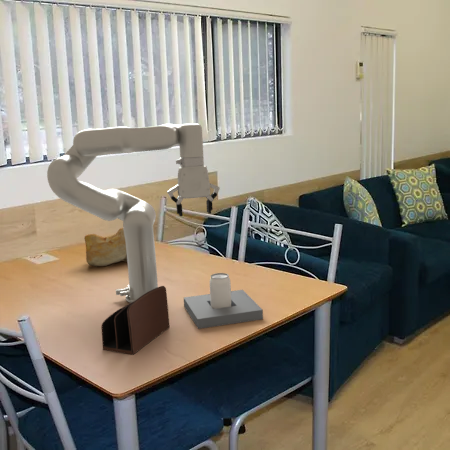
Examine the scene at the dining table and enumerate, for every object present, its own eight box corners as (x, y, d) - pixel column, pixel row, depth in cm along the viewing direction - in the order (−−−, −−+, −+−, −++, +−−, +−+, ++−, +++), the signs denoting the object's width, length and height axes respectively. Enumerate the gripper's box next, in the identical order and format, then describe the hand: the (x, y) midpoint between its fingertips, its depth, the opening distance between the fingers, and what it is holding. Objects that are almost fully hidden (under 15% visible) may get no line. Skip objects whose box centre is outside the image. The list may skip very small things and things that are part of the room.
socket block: (198, 328, 169) (197, 319, 169) (184, 306, 188) (183, 297, 188) (262, 319, 175) (262, 309, 174) (242, 298, 193) (242, 289, 193)
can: (229, 316, 178) (227, 279, 175) (208, 315, 179) (207, 278, 176) (233, 309, 184) (232, 272, 181) (213, 308, 185) (211, 272, 183)
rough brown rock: (136, 254, 257) (131, 221, 254) (145, 260, 241) (140, 225, 239) (83, 264, 249) (78, 229, 246) (88, 270, 233) (83, 234, 231)
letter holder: (170, 327, 171) (167, 282, 168) (133, 355, 154) (129, 305, 151) (141, 323, 176) (137, 279, 172) (102, 350, 158) (97, 301, 155)
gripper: (167, 165, 182) (171, 218, 186) (220, 161, 186) (223, 213, 190) (163, 163, 189) (167, 214, 193) (214, 159, 193) (217, 209, 197)
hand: (194, 214), depth 191 cm, fingers open, 9 cm apart
